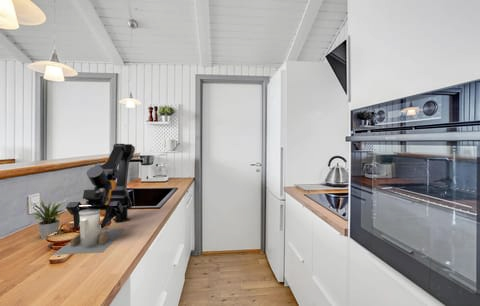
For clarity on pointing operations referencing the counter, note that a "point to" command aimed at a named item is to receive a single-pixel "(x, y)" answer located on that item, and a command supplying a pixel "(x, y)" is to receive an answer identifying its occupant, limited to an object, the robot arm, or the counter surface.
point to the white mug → (89, 227)
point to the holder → (104, 242)
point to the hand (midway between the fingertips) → (88, 228)
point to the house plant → (48, 219)
